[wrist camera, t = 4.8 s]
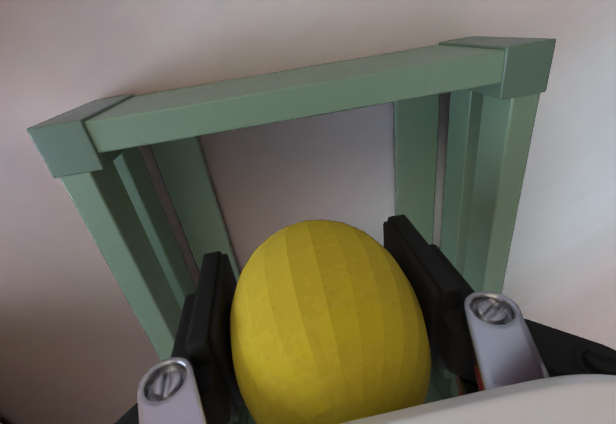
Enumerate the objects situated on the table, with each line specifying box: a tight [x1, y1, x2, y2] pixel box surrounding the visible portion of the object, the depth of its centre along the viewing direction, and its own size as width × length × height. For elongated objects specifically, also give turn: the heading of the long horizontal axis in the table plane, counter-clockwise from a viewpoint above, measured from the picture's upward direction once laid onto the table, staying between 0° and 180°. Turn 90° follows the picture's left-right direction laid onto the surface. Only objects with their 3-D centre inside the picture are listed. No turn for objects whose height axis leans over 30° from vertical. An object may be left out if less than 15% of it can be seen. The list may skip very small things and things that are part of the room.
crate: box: [27, 36, 556, 424], centre depth 17 cm, size 22×16×5 cm
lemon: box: [230, 219, 431, 424], centre depth 10 cm, size 6×6×8 cm
